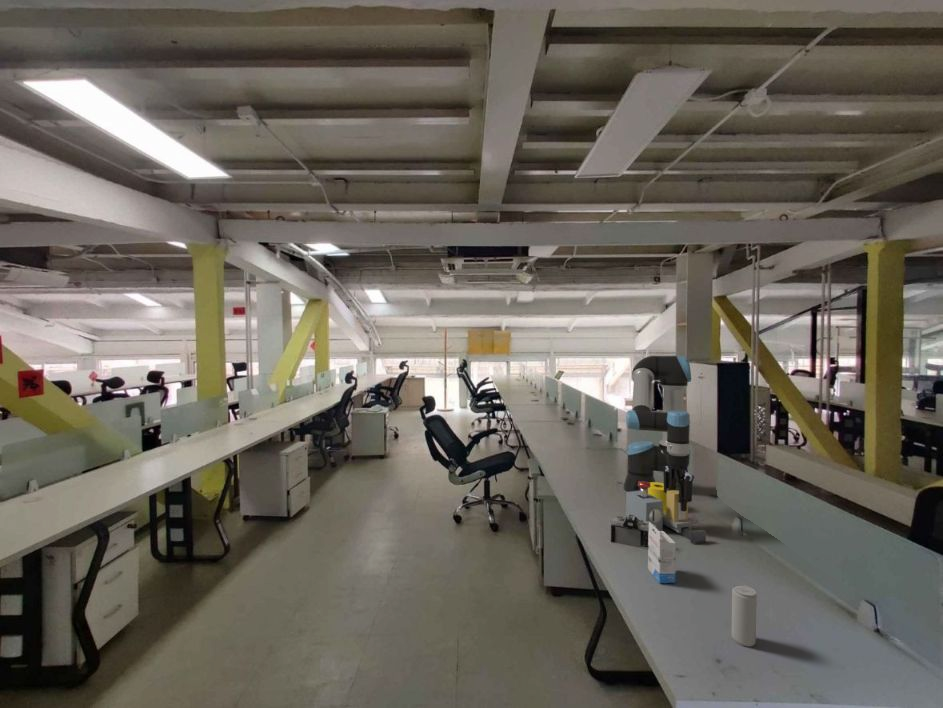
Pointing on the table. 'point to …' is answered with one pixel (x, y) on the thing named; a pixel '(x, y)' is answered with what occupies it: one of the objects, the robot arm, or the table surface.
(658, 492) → the tape roll
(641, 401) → the robot arm
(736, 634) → the beverage can
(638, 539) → the camera
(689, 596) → the table surface
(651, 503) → the gauge cabinet
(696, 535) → the rail
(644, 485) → the plunger
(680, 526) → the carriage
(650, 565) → the ink box
